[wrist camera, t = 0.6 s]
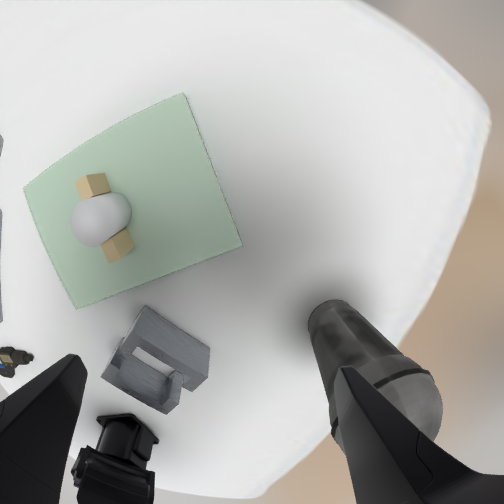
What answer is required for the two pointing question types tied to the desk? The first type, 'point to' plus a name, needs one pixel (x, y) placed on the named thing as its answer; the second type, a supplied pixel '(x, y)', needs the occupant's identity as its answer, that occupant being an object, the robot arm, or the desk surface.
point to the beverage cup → (371, 366)
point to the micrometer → (12, 360)
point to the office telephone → (0, 317)
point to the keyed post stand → (132, 205)
